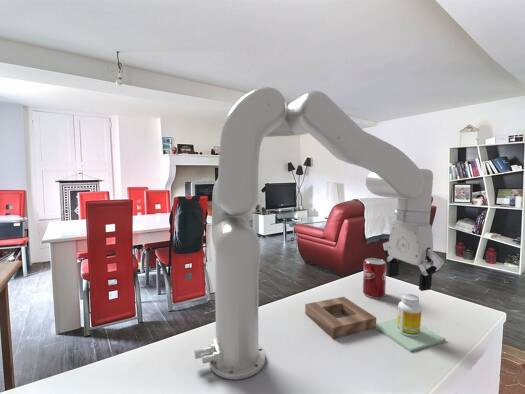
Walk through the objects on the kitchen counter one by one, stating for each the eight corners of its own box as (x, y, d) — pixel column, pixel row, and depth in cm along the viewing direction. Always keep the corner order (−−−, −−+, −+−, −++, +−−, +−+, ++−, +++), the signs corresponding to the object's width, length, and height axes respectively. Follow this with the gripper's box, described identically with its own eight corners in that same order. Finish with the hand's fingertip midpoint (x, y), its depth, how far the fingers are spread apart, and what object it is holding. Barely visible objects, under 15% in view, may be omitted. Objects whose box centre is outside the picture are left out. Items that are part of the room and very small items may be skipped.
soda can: (366, 299, 95) (367, 264, 94) (360, 290, 102) (361, 257, 101) (388, 299, 94) (390, 264, 93) (380, 290, 102) (381, 258, 101)
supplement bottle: (392, 328, 76) (393, 293, 75) (407, 324, 78) (409, 290, 77) (409, 339, 71) (410, 302, 70) (424, 335, 73) (426, 299, 72)
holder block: (332, 339, 72) (333, 327, 72) (305, 313, 85) (305, 304, 85) (376, 328, 77) (376, 317, 77) (343, 305, 90) (343, 296, 90)
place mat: (410, 351, 67) (410, 349, 67) (373, 326, 78) (373, 324, 78) (445, 340, 71) (445, 338, 71) (405, 318, 82) (405, 316, 82)
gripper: (376, 212, 78) (372, 272, 80) (433, 223, 62) (427, 298, 64) (396, 212, 81) (392, 270, 83) (456, 222, 65) (450, 294, 67)
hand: (407, 282), depth 73 cm, fingers open, 9 cm apart
